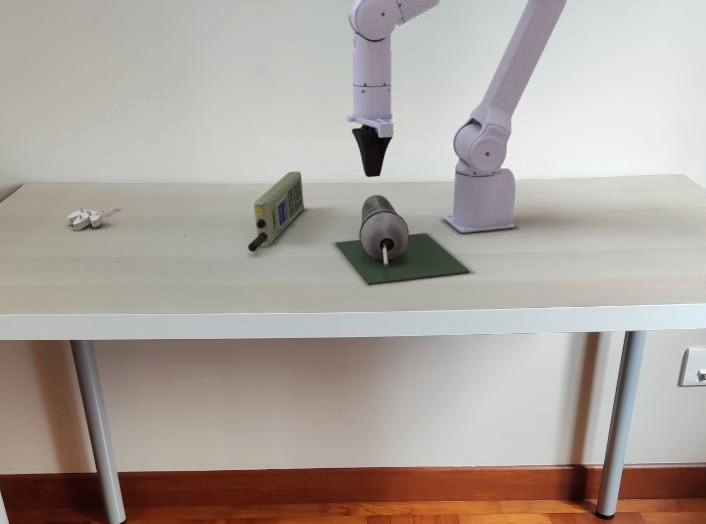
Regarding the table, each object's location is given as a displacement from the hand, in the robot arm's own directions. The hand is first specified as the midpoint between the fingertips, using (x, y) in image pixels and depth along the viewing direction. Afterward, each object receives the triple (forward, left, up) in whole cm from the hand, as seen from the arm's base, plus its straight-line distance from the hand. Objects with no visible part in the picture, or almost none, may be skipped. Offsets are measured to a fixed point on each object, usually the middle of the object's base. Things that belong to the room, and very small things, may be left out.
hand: (372, 175), depth 128 cm
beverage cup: (0, +3, -4) cm, 5 cm away
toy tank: (+43, -20, -9) cm, 48 cm away
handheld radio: (+15, -5, -9) cm, 18 cm away
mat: (0, +14, -9) cm, 16 cm away
